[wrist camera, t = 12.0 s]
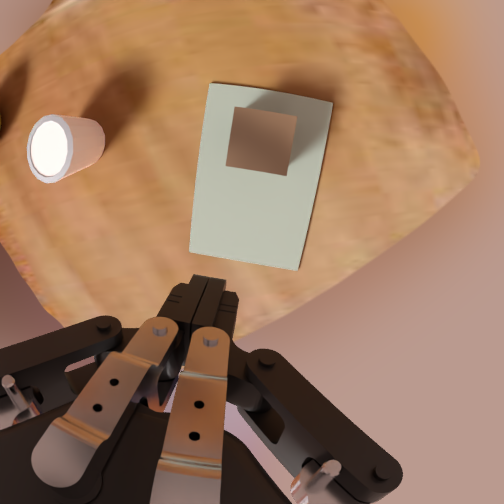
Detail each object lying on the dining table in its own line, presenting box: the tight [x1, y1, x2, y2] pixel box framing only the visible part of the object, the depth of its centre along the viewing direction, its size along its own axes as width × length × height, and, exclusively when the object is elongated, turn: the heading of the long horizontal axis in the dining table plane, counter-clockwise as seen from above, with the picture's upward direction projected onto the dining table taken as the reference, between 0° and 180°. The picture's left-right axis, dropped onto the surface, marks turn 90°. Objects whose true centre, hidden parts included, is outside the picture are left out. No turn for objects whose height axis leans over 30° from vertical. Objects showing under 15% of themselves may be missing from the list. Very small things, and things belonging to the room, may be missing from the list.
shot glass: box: [27, 114, 105, 183], centre depth 25 cm, size 7×7×7 cm
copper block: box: [226, 107, 297, 176], centre depth 25 cm, size 5×5×5 cm
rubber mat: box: [189, 83, 333, 271], centre depth 29 cm, size 18×12×1 cm, turn 171°
